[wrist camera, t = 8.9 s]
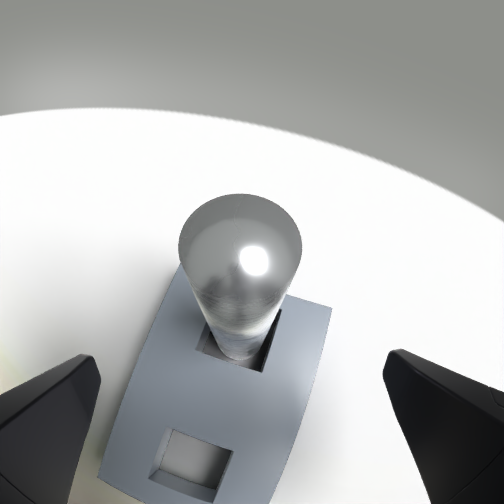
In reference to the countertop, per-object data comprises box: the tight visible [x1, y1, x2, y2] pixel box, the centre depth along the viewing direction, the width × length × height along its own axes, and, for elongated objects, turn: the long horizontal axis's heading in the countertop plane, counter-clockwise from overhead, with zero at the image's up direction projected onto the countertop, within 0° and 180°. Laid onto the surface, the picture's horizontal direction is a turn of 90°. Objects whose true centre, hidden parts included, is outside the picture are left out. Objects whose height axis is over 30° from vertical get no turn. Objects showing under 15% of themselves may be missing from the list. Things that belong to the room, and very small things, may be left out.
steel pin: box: [178, 194, 302, 360], centre depth 12 cm, size 3×3×12 cm
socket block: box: [97, 263, 332, 504], centre depth 14 cm, size 16×10×2 cm, turn 162°
